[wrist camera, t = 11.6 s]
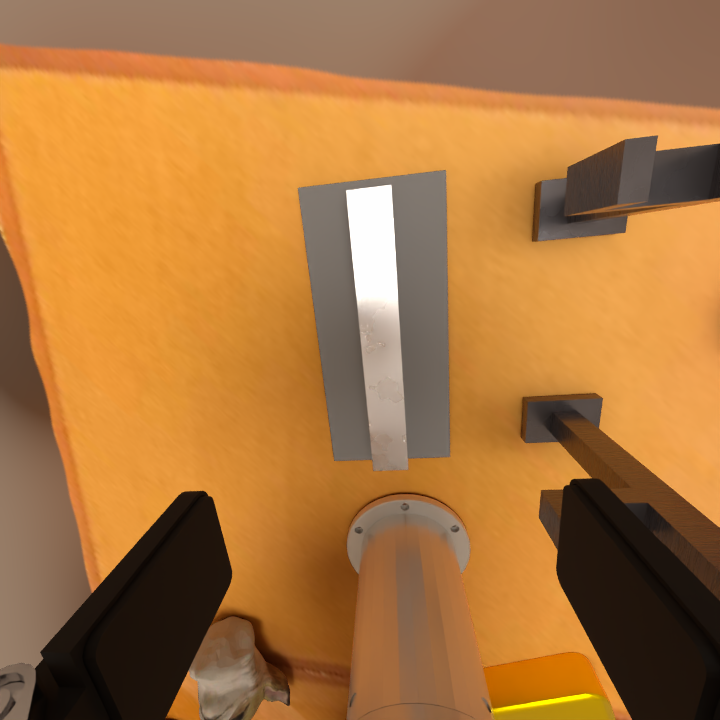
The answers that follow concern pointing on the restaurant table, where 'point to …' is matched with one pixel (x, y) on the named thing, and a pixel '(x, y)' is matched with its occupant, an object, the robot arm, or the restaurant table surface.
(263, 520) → the restaurant table surface
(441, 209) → the mat
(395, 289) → the rail
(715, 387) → the restaurant table surface
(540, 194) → the hook stand
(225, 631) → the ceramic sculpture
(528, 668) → the element tile
